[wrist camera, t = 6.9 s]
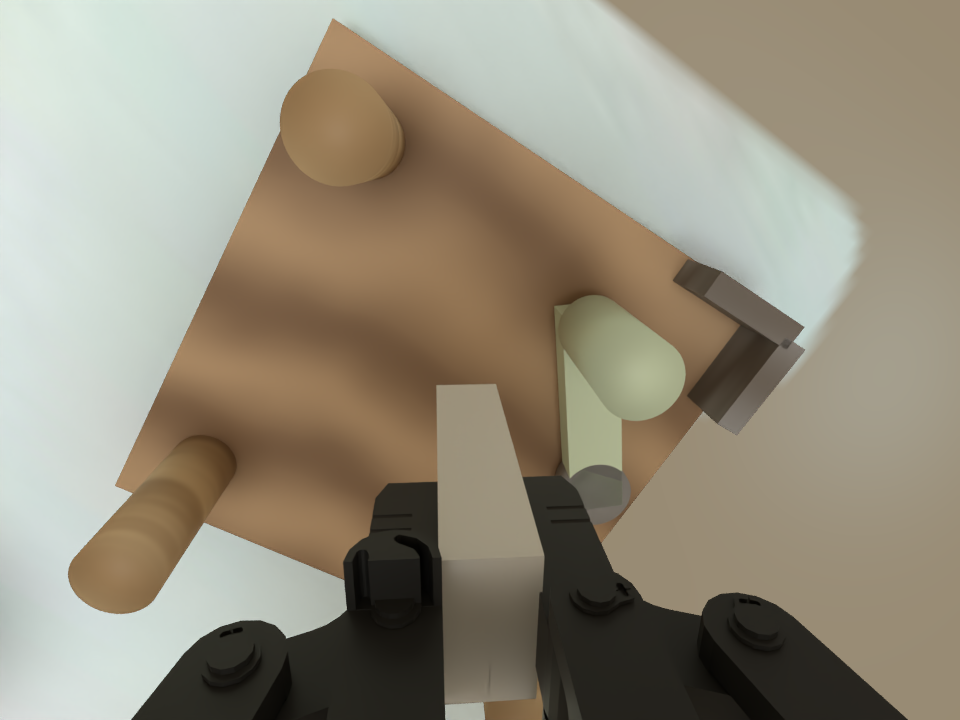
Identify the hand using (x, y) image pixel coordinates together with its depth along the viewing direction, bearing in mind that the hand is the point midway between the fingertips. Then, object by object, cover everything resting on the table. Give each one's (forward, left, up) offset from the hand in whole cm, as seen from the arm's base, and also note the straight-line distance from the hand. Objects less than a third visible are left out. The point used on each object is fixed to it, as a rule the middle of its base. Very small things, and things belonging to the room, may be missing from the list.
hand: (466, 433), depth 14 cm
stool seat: (-3, -1, -12) cm, 13 cm away
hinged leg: (0, -7, -10) cm, 12 cm away
